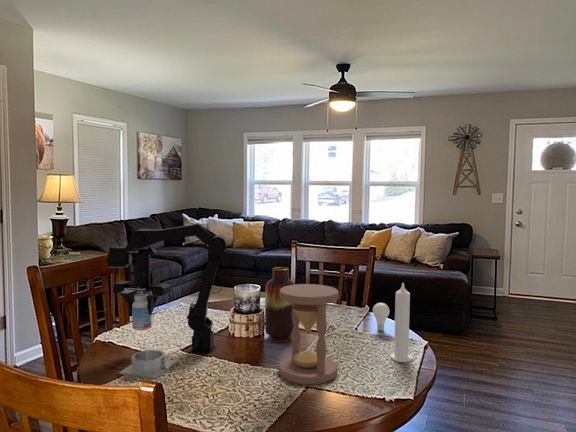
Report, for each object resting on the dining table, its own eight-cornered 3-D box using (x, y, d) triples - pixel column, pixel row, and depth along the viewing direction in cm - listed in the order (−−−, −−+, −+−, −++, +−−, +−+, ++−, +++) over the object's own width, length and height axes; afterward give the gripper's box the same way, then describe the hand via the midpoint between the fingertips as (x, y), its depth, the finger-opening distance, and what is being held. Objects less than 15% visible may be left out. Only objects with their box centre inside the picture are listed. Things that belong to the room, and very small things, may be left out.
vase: (268, 345, 156) (269, 271, 154) (262, 335, 167) (262, 266, 165) (299, 342, 159) (299, 270, 157) (290, 332, 170) (291, 265, 168)
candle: (413, 363, 141) (415, 285, 140) (390, 361, 142) (392, 284, 141) (411, 355, 148) (413, 281, 146) (389, 353, 149) (391, 279, 148)
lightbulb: (371, 332, 171) (372, 304, 171) (373, 327, 177) (373, 300, 177) (388, 334, 169) (389, 305, 169) (389, 329, 175) (390, 301, 175)
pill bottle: (148, 331, 146) (147, 297, 145) (129, 330, 146) (129, 296, 145) (154, 325, 152) (153, 292, 151) (136, 325, 152) (135, 292, 151)
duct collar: (176, 363, 139) (176, 350, 139) (155, 379, 128) (155, 365, 128) (142, 359, 142) (142, 346, 142) (119, 374, 131) (119, 360, 131)
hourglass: (271, 364, 139) (271, 285, 137) (321, 357, 145) (322, 282, 144) (291, 388, 122) (292, 299, 121) (347, 379, 129) (349, 294, 127)
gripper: (178, 264, 153) (179, 309, 154) (131, 262, 157) (131, 305, 158) (161, 270, 142) (162, 318, 143) (111, 267, 147) (111, 313, 148)
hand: (142, 313), depth 148 cm, fingers closed on pill bottle, 6 cm apart
